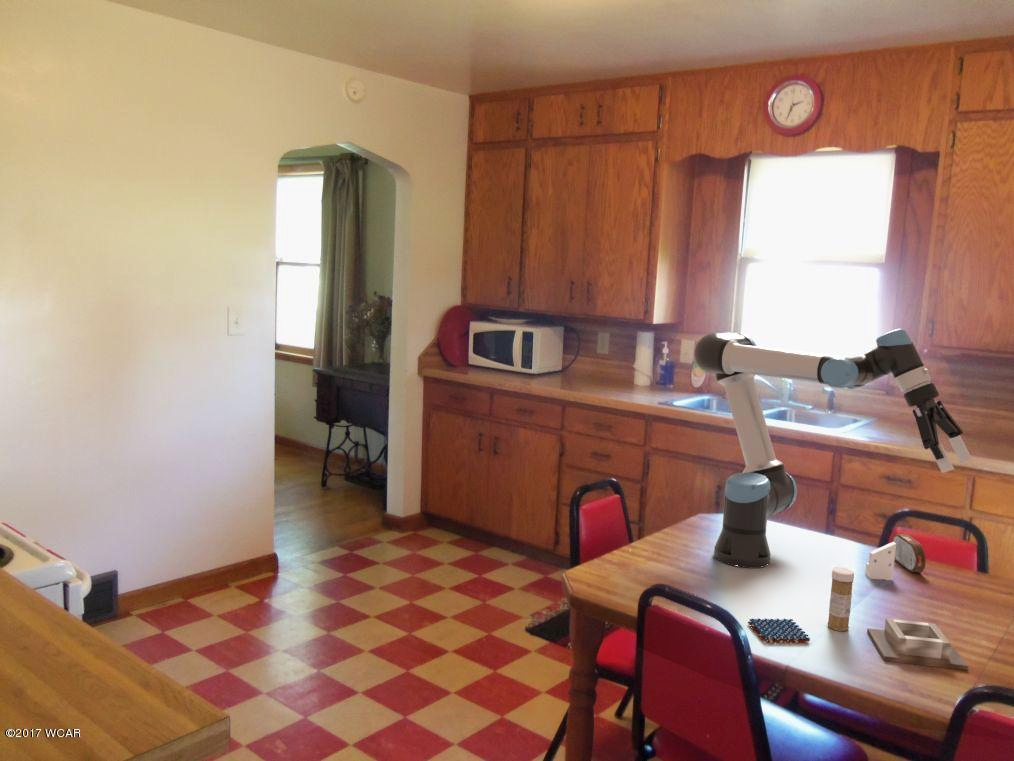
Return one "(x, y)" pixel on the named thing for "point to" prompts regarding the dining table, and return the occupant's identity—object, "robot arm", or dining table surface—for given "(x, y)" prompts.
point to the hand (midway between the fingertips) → (957, 466)
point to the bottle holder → (915, 644)
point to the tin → (909, 553)
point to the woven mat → (778, 631)
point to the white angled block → (881, 562)
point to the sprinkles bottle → (840, 599)
